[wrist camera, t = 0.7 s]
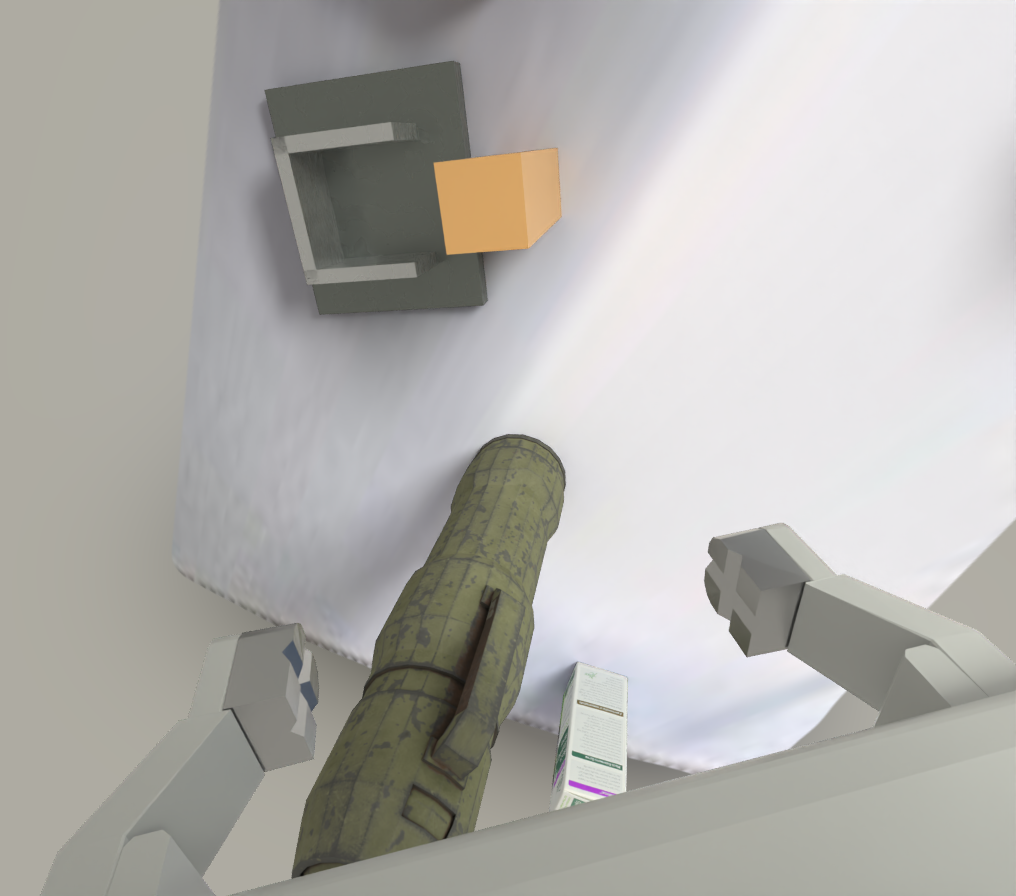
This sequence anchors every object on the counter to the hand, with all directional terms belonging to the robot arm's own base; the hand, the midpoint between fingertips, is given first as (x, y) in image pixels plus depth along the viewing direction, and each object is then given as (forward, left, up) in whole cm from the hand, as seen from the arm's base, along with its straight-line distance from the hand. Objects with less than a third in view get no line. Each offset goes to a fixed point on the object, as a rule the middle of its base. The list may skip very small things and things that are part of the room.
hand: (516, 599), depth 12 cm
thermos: (+18, -9, -37) cm, 42 cm away
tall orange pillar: (-6, -6, -37) cm, 38 cm away
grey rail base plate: (-6, -17, -37) cm, 41 cm away
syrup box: (+44, -3, -37) cm, 58 cm away
